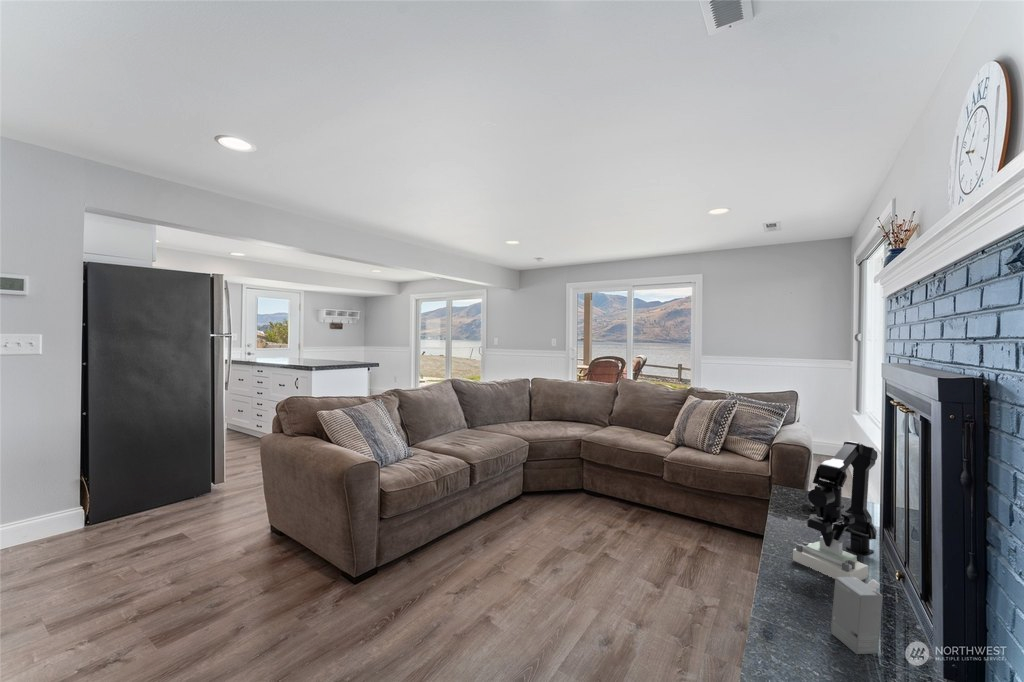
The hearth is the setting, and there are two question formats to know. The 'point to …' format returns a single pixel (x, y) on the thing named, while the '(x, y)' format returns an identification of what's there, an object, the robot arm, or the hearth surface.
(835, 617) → the skincare box
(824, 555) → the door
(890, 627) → the hearth surface
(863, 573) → the white box base
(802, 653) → the hearth surface
